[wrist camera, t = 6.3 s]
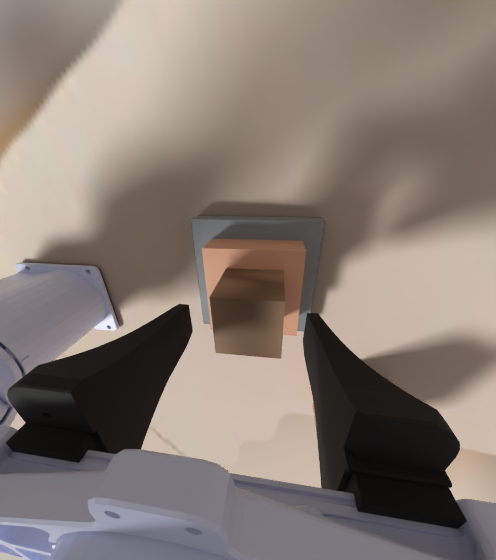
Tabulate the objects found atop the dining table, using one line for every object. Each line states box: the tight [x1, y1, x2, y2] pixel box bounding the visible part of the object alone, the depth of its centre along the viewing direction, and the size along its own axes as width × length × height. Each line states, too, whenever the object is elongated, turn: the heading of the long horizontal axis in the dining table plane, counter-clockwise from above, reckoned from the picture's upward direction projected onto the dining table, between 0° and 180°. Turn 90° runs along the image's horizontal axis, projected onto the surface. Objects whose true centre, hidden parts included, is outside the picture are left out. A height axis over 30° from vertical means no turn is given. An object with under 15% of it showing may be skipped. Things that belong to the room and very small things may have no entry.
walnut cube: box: [210, 268, 285, 359], centre depth 14 cm, size 4×4×4 cm
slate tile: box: [191, 215, 325, 331], centre depth 19 cm, size 10×10×2 cm
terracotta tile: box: [202, 239, 306, 336], centre depth 17 cm, size 7×7×2 cm
